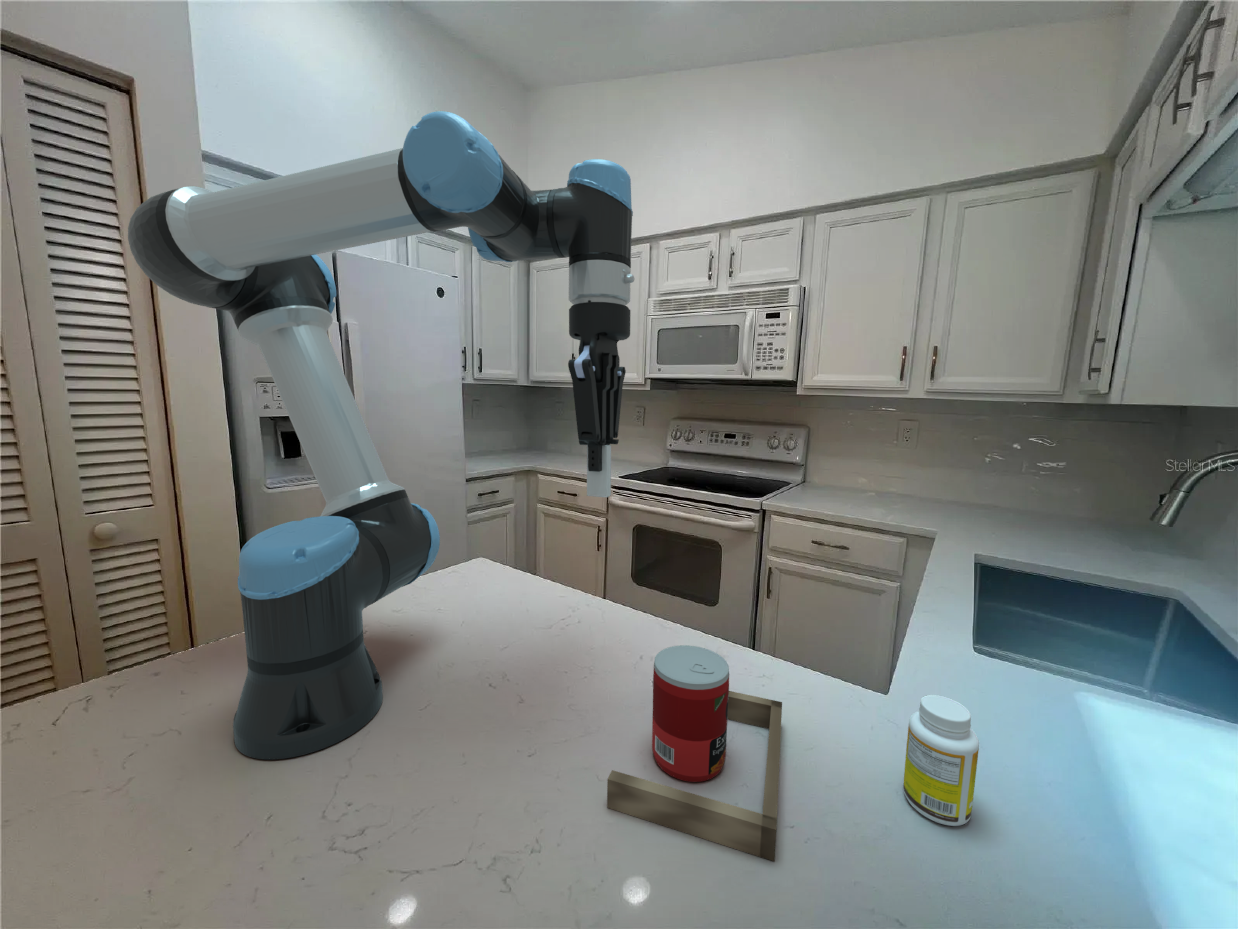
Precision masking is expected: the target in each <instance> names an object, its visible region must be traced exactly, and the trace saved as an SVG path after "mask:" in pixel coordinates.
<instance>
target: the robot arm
mask: <svg viewBox="0 0 1238 929" xmlns="http://www.w3.org/2000/svg"><path fill="white" fill-rule="evenodd" d="M631 185H632V183H631V176H630V174H629V173H628V171H627V169H625V168H624V167H623V166H621V165H620V164H619V163H616V162H614V161H612V160H608V159H601V158H591V159H586V160H584V161H582V162H581V163H580V162H577V163H576V164H574V165H573V166H572V167H571V169H570V170H569V172H568V180H567V183H566V186H565V187H560V188H552V189H538V190H531V188H530V187H528V185H527V184H526V183H525V182H524V180H522V178H520V177H519V175H518V174H517V173H516V172H515V171H514V169H512V168H511V167H510V165H508V163H507V162H506V161H505V160H504V158H502V156H501V155H500V154H499V151H497V149H496V148H495V146H494V144H493V143H492V142H491V141H490V140H489V139H488V138H487V137H486V136H485V135H483V133H481V132H480V131H479V130H478V129H477V128H475V127H474V126H473V125H472V124H470V122H468V120H466V119H465V118H463V117H462V116H460V115H458V114H456V113H454V112H449V111H445V110H442V111H441V110H440V111H439V110H438V111H437V110H435V111H432V112H429V113H427V114H425V115H422V117H421V119H420V121H418V122H417V123H416V124H415V125H412V126H411V127H410V129H409V130H408V132H407V134H406V136H405V139H404V142H403V146H402V147H401V148H397V149H396V148H395V149H393V150H389V151H385V152H380V153H375V154H371V155H366V156H363V157H359V158H355V159H354V158H353V159H350V160H346V161H341V162H338V163H333V164H329V165H325V166H319V167H316V168H311V169H308V170H303V171H299V172H294V173H291V174H286V175H281V176H276V177H272V178H270V179H264V180H261V181H257V182H252V183H248V184H244V185H240V186H239V185H238V186H235V187H230V188H227V189H222V190H219V191H218V190H217V191H212V190H209V189H207V188H204V187H201V186H200V187H199V186H193V185H190V186H189V185H188V186H183V187H179V188H174V189H171V190H168V191H163V192H160V193H158V194H155V195H153V196H150V197H149V198H148V199H146V200H145V201H143V202H141V204H140V205H139V206H138V207H136V209H135V210H134V212H133V214H132V215H131V217H130V219H129V223H128V227H127V240H128V245H129V250H130V251H131V254H132V256H133V258H134V260H135V263H136V264H137V265H138V266H139V268H140V269H141V270H142V272H143V273H144V274H145V275H146V277H148V279H150V281H152V282H153V283H154V284H155V285H156V286H157V287H159V288H160V289H162V290H163V291H165V292H166V293H168V294H170V295H171V296H174V297H175V298H178V299H179V300H182V301H185V302H187V303H189V304H193V305H196V306H202V307H206V308H208V309H209V308H211V309H215V310H219V311H225V312H228V313H229V314H230V315H231V317H232V320H233V323H234V324H235V327H236V329H237V331H238V335H240V337H241V338H242V339H243V340H244V341H245V340H246V341H247V342H250V343H251V344H254V345H256V346H258V348H259V349H260V352H261V354H262V357H263V359H264V361H265V364H266V367H267V368H268V370H269V373H270V376H271V377H272V380H273V382H274V385H275V387H276V389H277V392H278V395H279V396H280V397H279V398H281V401H282V404H283V406H284V408H285V411H286V412H287V415H288V417H289V420H290V422H291V424H292V427H293V429H294V432H295V434H296V436H297V438H298V440H299V442H300V445H301V447H302V450H303V452H304V455H305V458H306V459H307V462H308V464H309V465H310V468H311V469H310V470H312V473H313V475H314V477H315V478H314V479H315V481H316V482H317V484H318V488H319V489H320V492H321V494H322V497H323V498H324V501H325V506H324V508H323V510H322V512H321V514H320V516H312V517H307V518H303V519H301V520H291V521H288V522H284V523H281V524H278V525H275V526H273V527H269V528H267V529H265V530H263V531H261V532H258V533H257V534H256V535H254V536H252V537H251V538H249V540H247V541H246V543H245V544H244V545H243V546H242V548H241V550H240V553H239V556H238V569H239V573H238V574H239V575H238V576H237V588H238V591H239V592H240V602H241V608H242V618H243V629H244V640H245V641H244V642H245V650H246V652H245V653H246V660H247V673H246V674H247V675H246V677H245V681H244V684H243V687H242V691H241V693H240V697H239V702H238V704H237V705H238V706H237V710H236V711H235V713H234V716H233V723H232V728H233V739H234V745H235V747H236V749H237V750H238V751H239V752H240V753H241V754H242V755H244V756H246V757H249V758H253V759H257V760H281V759H291V758H296V757H300V756H304V755H308V754H311V753H315V752H317V751H320V750H323V749H325V748H328V747H330V746H333V745H335V744H336V743H339V742H341V741H343V740H345V739H346V738H348V737H350V736H352V735H353V734H356V732H358V731H360V730H361V729H362V728H363V727H364V726H366V725H367V724H368V723H369V722H370V721H371V720H372V719H373V718H374V717H375V716H376V714H377V713H378V711H379V710H380V708H381V707H382V703H383V698H384V696H383V682H382V679H381V675H380V673H379V672H378V669H377V667H376V665H375V663H374V661H373V658H372V657H371V654H370V653H369V650H368V649H367V646H366V645H365V639H364V623H363V622H364V621H363V610H364V609H366V608H367V607H370V606H371V605H373V604H374V603H377V602H378V601H379V600H382V599H383V598H386V596H388V595H390V594H391V593H393V592H396V591H397V590H398V589H400V588H403V587H405V586H408V585H411V584H412V583H414V582H415V581H417V579H419V577H420V576H422V575H423V574H425V573H426V572H427V571H428V570H430V568H431V567H432V565H433V564H434V562H435V560H436V558H437V555H438V553H439V550H440V543H441V542H440V541H441V535H440V530H439V526H438V523H437V522H436V520H435V518H434V516H433V514H432V513H430V511H429V510H428V509H427V508H423V507H422V506H421V505H419V504H417V503H414V502H413V503H411V501H410V498H409V496H408V493H407V491H406V489H405V487H404V486H403V485H402V486H401V485H399V484H396V483H394V482H392V481H390V478H389V477H388V475H387V472H386V470H385V467H384V465H383V463H382V461H381V458H380V456H379V453H378V451H377V448H376V447H375V444H374V442H373V439H372V437H371V435H370V432H369V430H368V427H367V424H366V422H365V421H364V418H363V415H362V414H361V411H360V409H359V407H358V405H357V402H356V400H355V397H354V394H353V391H352V390H351V387H350V385H349V382H348V380H347V378H346V376H345V373H344V371H343V368H342V365H341V362H340V361H339V358H338V356H337V354H336V351H335V349H334V346H333V345H332V342H331V340H330V338H329V334H328V333H327V332H328V331H329V329H330V327H331V325H332V324H333V322H334V321H333V316H332V313H333V311H334V309H335V306H336V302H334V298H336V297H337V289H336V283H335V280H334V277H333V274H332V272H331V269H329V267H328V265H327V264H326V263H325V262H324V261H323V259H322V258H321V257H320V256H319V255H320V254H326V253H329V252H330V253H331V252H335V251H341V250H345V249H351V248H355V247H362V246H365V245H370V244H377V243H380V242H386V241H387V242H388V241H391V240H395V239H396V240H397V239H400V238H401V239H402V238H407V237H412V236H415V235H416V236H417V235H423V234H426V233H433V232H441V231H446V230H447V231H448V230H452V229H455V228H456V229H457V228H461V227H464V228H465V227H466V228H467V230H468V234H469V237H470V240H471V243H472V245H473V247H475V249H476V251H477V253H478V255H479V256H480V257H481V258H483V259H484V260H487V261H490V262H494V261H495V262H506V263H514V262H518V261H531V260H532V261H533V260H546V259H548V260H549V259H563V258H566V259H567V258H568V301H569V302H570V303H571V306H570V308H569V309H568V334H569V336H570V338H572V339H574V340H577V341H579V345H578V357H577V359H576V358H575V359H569V360H568V364H567V367H568V370H569V374H570V377H571V381H572V382H571V383H572V390H573V392H572V393H573V399H574V410H575V420H576V429H577V438H578V444H579V445H581V446H586V497H587V496H588V497H597V498H608V497H610V496H611V495H612V494H611V493H612V492H611V491H612V490H611V488H612V487H611V486H612V445H618V444H619V440H620V439H617V438H618V436H619V429H620V418H621V416H620V415H621V409H622V408H621V406H622V396H623V387H624V386H623V384H624V380H625V377H626V371H627V370H626V367H625V366H620V362H621V360H620V355H619V351H618V342H619V341H626V340H628V339H629V338H630V336H631V309H630V308H629V307H628V304H629V303H630V302H631V283H634V282H635V276H634V274H632V273H631V271H632V270H631V268H632V235H633V234H632V233H633V232H632V230H633V227H632V226H633V216H634V215H633V213H634V212H633V209H632V186H631Z"/></svg>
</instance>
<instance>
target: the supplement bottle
mask: <svg viewBox="0 0 1238 929" xmlns="http://www.w3.org/2000/svg"><path fill="white" fill-rule="evenodd" d="M971 720H972V714H971V712H970V711H969V709H968V708H967V707H966V706H964V705H963V704H962V703H960V702H958V701H956V700H954V699H951V698H949V697H946V696H942V695H938V694H928V695H925V696H922V697H921V699H920V703H919V708H918V711H917V710H916V711H915V712H913V713H912V714H911V716H910V717H909V719H908V727H907V740H906V749H905V750H906V752H905V762H904V772H903V785H902V786H903V787H902V788H903V793H904V796H905V798H906V800H907V801H908V802H909V804H910V805H911V806H912V807H913V808H914V810H916V811H917V812H918V813H919V814H921V815H922V816H923V817H925V818H927V819H929V820H931V821H933V822H935V823H938V824H942V825H945V826H952V827H959V826H962V825H964V824H967V823H968V822H969V820H970V819H971V817H972V814H973V813H972V811H973V803H974V795H975V794H974V793H975V784H976V777H977V769H978V768H977V767H978V758H979V752H980V751H979V750H980V739H979V738H978V736H977V733H976V732H975V731H974V730H973V729H972V728H971V727H972V725H971V722H972V721H971Z"/></svg>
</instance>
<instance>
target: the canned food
mask: <svg viewBox="0 0 1238 929" xmlns="http://www.w3.org/2000/svg"><path fill="white" fill-rule="evenodd" d="M729 667H730V666H729V663H728V662H727V660H726V659H725V658H724V657H723V656H722V655H720V654H719V653H717V652H715V651H713V650H711V649H708V648H705V647H701V646H697V645H686V644H683V645H673V646H669V647H666V648H663V649H661V650H660V651H659V652H658V653H656V655H655V657H654V662H653V673H652V674H653V675H652V676H653V677H652V720H651V721H652V730H651V731H652V732H651V733H652V734H651V735H652V736H651V749H652V753H653V754H652V755H653V756H654V760H655V762H656V764H657V766H659V768H660V769H661V770H662V771H663V772H664V773H666V774H667V775H669V776H671V777H673V778H675V779H677V780H681V781H685V782H690V783H700V782H705V781H709V780H712V779H713V778H714V777H715V778H716V777H717V775H719V773H721V770H722V769H723V767H724V764H725V761H726V756H727V754H726V753H727V738H728V736H727V735H728V734H727V733H728V719H727V718H728V698H729V691H730V668H729Z"/></svg>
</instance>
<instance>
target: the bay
mask: <svg viewBox="0 0 1238 929" xmlns="http://www.w3.org/2000/svg"><path fill="white" fill-rule="evenodd" d="M782 710H783V701H780V700H779V701H778V700H775V699H771V698H770V699H769V698H765V697H760V696H756V695H750V694H745V693H741V692H736V691H732V690H729V698H728V718H727V720H729V721H734V722H738V723H742V724H747V725H751V726H756V727H760V728H763V729H768V738H767V739H768V742H767V754H766V755H767V756H766V765H765V780H764V790H763V791H764V792H763V804H762V813H760V812H757V811H754V810H750V809H747V808H743V807H739V806H736V805H733V804H729V803H726V802H724V801H719V800H716V799H713V798H709V797H706V796H702V795H699V794H697V793H691V792H689V791H685V790H682V789H677V788H674V787H671V786H667V785H664V784H661V783H659V782H655V781H651V780H648V779H646V778H645V779H644V778H641V777H637V776H635V775H630V774H628V773H624V772H620V771H616V770H615V769H614V770H613V769H611V771H610V773H609V775H608V777H607V779H606V781H607V783H606V786H607V787H606V789H607V790H606V791H607V793H606V795H607V796H606V799H607V800H606V803H607V804H606V808H608V809H610V810H613V811H617V812H619V813H623V814H625V815H629V816H632V817H635V818H638V819H641V820H645V821H647V822H650V823H654V824H657V825H660V826H663V827H667V828H670V829H672V830H676V831H679V832H682V833H684V834H687V835H691V836H695V837H696V838H699V839H700V838H701V839H703V840H706V841H708V842H713V843H716V844H718V845H722V846H724V847H725V846H726V847H728V848H731V849H735V850H738V851H740V852H743V853H747V854H749V855H752V856H756V857H760V858H762V859H765V860H768V861H771V862H774V863H775V859H776V846H777V845H776V843H777V825H778V824H777V823H778V806H779V805H778V803H779V781H780V759H781V758H780V757H781V738H782V736H781V735H782V718H783V717H782V716H783V714H782V713H783V711H782Z"/></svg>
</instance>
